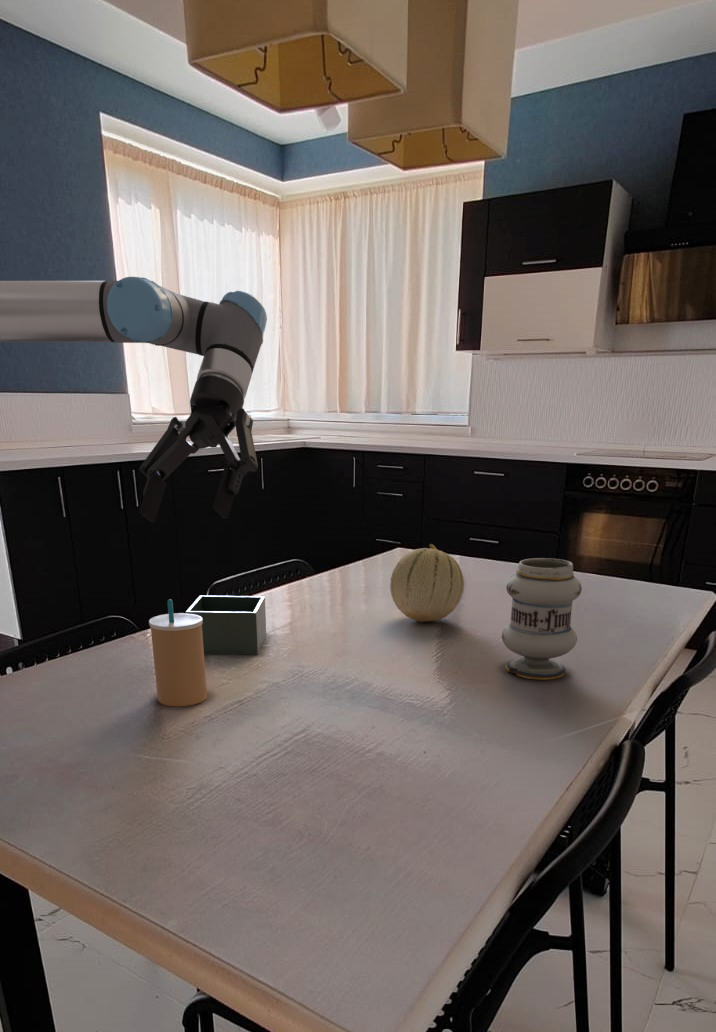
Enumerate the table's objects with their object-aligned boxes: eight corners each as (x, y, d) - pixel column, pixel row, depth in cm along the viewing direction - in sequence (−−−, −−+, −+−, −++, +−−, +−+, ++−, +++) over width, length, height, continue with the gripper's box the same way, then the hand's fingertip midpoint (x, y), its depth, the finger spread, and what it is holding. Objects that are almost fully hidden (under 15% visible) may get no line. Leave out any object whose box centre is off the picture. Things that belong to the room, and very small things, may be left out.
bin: (202, 634, 146) (199, 595, 143) (266, 635, 146) (264, 596, 143) (188, 653, 135) (185, 611, 132) (257, 654, 135) (256, 612, 132)
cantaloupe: (391, 630, 151) (393, 552, 145) (387, 611, 164) (389, 539, 158) (466, 630, 151) (472, 553, 145) (456, 611, 165) (460, 540, 159)
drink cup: (170, 687, 119) (161, 590, 113) (215, 691, 118) (209, 593, 112) (147, 704, 113) (136, 601, 106) (195, 709, 111) (186, 605, 105)
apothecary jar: (483, 667, 130) (492, 559, 123) (532, 655, 136) (543, 552, 129) (538, 687, 121) (550, 572, 114) (587, 673, 127) (602, 564, 120)
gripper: (302, 398, 113) (267, 526, 108) (172, 415, 125) (135, 531, 120) (276, 361, 107) (237, 495, 102) (141, 383, 118) (101, 504, 113)
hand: (182, 515), depth 111 cm, fingers open, 13 cm apart
